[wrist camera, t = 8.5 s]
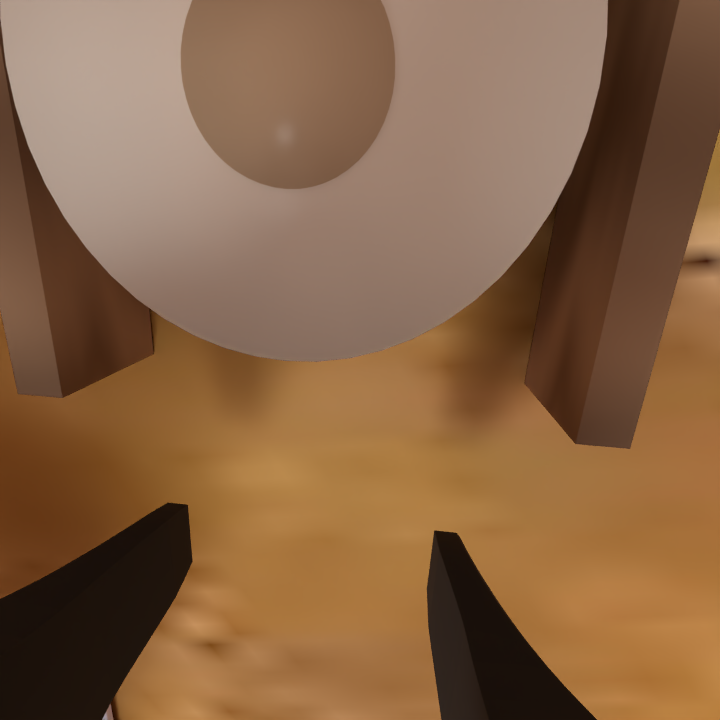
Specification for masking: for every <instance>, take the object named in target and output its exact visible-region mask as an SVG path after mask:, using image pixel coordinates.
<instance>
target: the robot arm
mask: <svg viewBox="0 0 720 720" xmlns="http://www.w3.org/2000/svg"><path fill="white" fill-rule="evenodd" d="M191 563H192V551H191V539H190V526H189V514H188V505H185V504H175V503H167V504H165V505H163V506H161V507H160V508H158V509H156V510H155V511H153V512H151V513H150V514H148V515H147V516H145V517H143V518H142V519H140V520H139V521H137V522H136V523H134V524H133V525H131V526H129V527H128V528H126V529H125V530H123V531H121V532H120V533H118V534H117V535H115V536H113V537H112V538H110V539H109V540H107V541H105V542H104V543H102V544H101V545H99V546H97V547H96V548H94V549H92V550H91V551H89V552H87V553H86V554H84V555H82V556H80V557H79V558H77V559H75V560H73V561H72V562H70V563H68V564H67V565H65V566H63V567H61V568H60V569H58V570H56V571H54V572H53V573H51V574H49V575H47V576H45V577H43V578H41V579H40V580H38V581H36V582H34V583H32V584H30V585H28V586H26V587H24V588H22V589H20V590H18V591H16V592H14V593H12V594H10V595H8V596H6V597H4V598H1V599H0V720H113V715H112V709H111V702H112V700H113V698H114V696H115V695H116V693H117V691H118V689H119V688H120V686H121V684H122V682H123V681H124V679H125V677H126V676H127V674H128V673H129V671H130V669H131V668H132V666H133V665H134V663H135V662H136V660H137V658H138V657H139V655H140V654H141V652H142V650H143V649H144V647H145V646H146V644H147V642H148V641H149V639H150V638H151V636H152V634H153V633H154V631H155V630H156V628H157V627H158V625H159V623H160V622H161V620H162V618H163V617H164V615H165V614H166V612H167V610H168V609H169V607H170V605H171V604H172V602H173V600H174V599H175V597H176V595H177V593H178V591H179V589H180V587H181V585H182V583H183V581H184V579H185V577H186V574H187V572H188V570H189V568H190V566H191ZM427 602H428V626H429V634H430V642H431V649H432V656H433V663H434V670H435V677H436V684H437V691H438V698H439V705H440V712H441V719H442V720H597V719H596V718H595V717H594V716H593V715H592V714H591V713H590V712H589V711H588V710H587V709H586V708H585V707H584V706H583V705H582V704H581V703H580V702H579V701H578V700H577V699H576V697H575V696H574V695H573V694H572V693H571V692H570V691H569V690H568V689H567V688H566V687H565V686H564V685H563V684H562V683H561V681H560V680H559V679H558V678H557V677H556V676H555V675H554V673H553V672H552V671H551V670H550V669H549V668H548V667H547V665H546V664H545V663H544V662H543V661H542V659H541V658H540V657H539V656H538V655H537V653H536V652H535V651H534V650H533V648H532V647H531V646H530V645H529V643H528V642H527V641H526V640H525V638H524V637H523V636H522V634H521V633H520V632H519V630H518V629H517V628H516V626H515V625H514V623H513V622H512V621H511V619H510V618H509V617H508V615H507V614H506V612H505V611H504V609H503V608H502V607H501V605H500V604H499V602H498V601H497V599H496V598H495V596H494V595H493V593H492V591H491V590H490V588H489V587H488V585H487V584H486V582H485V581H484V579H483V577H482V576H481V574H480V573H479V571H478V569H477V567H476V566H475V564H474V562H473V561H472V559H471V557H470V555H469V554H468V552H467V550H466V548H465V546H464V544H463V542H462V540H461V538H460V537H459V535H458V534H457V533H453V532H443V531H434V538H433V546H432V553H431V561H430V569H429V577H428V585H427Z"/></svg>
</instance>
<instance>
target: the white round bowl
mask: <svg viewBox="0 0 720 720" xmlns="http://www.w3.org/2000/svg"><path fill="white" fill-rule="evenodd" d="M607 14H608V0H0V20H1V28H2V37H3V45H4V54H5V62H6V67H7V72H8V76H9V81H10V85H11V90H12V94H13V99H14V103H15V107H16V110H17V113H18V116H19V119H20V122H21V125H22V129H23V132H24V135H25V138H26V141H27V144H28V147H29V149H30V151H31V153H32V156H33V158H34V160H35V162H36V165H37V167H38V169H39V171H40V174H41V176H42V178H43V180H44V183H45V184H46V186H47V188H48V190H49V191H50V193H51V195H52V197H53V198H54V200H55V202H56V204H57V205H58V207H59V209H60V211H61V212H62V214H63V216H64V218H65V219H66V220H67V222H68V223H69V225H70V226H71V227H72V229H73V230H74V232H75V233H76V234H77V236H78V237H79V239H80V240H81V241H82V243H83V244H84V246H85V247H86V248H87V249H88V250H89V252H90V253H91V254H92V255H93V256H94V257H95V258H96V259H97V261H98V262H99V263H100V264H101V265H102V266H103V267H104V268H105V270H106V271H107V272H108V273H109V274H110V275H111V276H112V277H113V278H114V279H115V280H116V281H117V282H119V283H120V284H121V285H122V286H123V287H124V288H125V289H126V290H127V291H128V292H130V293H131V294H132V295H133V296H134V297H135V298H136V299H138V300H139V301H140V302H142V303H143V304H144V305H146V306H147V307H149V308H150V309H151V310H153V311H154V312H156V313H157V314H158V315H160V316H161V317H162V318H164V319H166V320H167V321H169V322H171V323H173V324H174V325H176V326H178V327H180V328H182V329H183V330H185V331H187V332H189V333H190V334H192V335H194V336H197V337H199V338H202V339H204V340H206V341H209V342H211V343H214V344H216V345H218V346H221V347H223V348H227V349H230V350H234V351H238V352H241V353H245V354H248V355H252V356H257V357H263V358H270V359H277V360H283V361H315V362H318V361H328V360H337V359H347V358H353V357H357V356H361V355H365V354H369V353H374V352H378V351H382V350H385V349H387V348H390V347H392V346H395V345H398V344H400V343H403V342H406V341H408V340H411V339H414V338H415V337H417V336H419V335H421V334H423V333H425V332H427V331H429V330H431V329H432V328H434V327H436V326H438V325H440V324H442V323H444V322H445V321H447V320H448V319H449V318H451V317H452V316H454V315H455V314H457V313H458V312H459V311H461V310H462V309H464V308H465V307H467V306H468V305H469V304H471V303H472V302H474V301H475V300H476V299H477V298H478V297H479V296H480V295H481V294H482V293H484V292H485V291H486V290H487V289H488V288H489V287H490V286H491V285H492V284H494V283H495V282H496V281H497V280H498V279H499V278H500V277H501V276H502V275H503V274H504V273H505V272H506V271H507V269H508V268H509V267H510V266H511V265H512V264H513V263H514V261H515V260H516V259H517V258H518V257H519V256H520V255H521V253H522V252H523V251H524V250H525V249H526V248H527V246H528V245H529V244H530V242H531V241H532V239H533V238H534V236H535V235H536V233H537V232H538V230H539V229H540V227H541V226H542V224H543V223H544V222H545V220H546V219H547V217H548V216H549V214H550V213H551V211H552V209H553V207H554V205H555V203H556V201H557V200H558V198H559V196H560V194H561V192H562V190H563V188H564V186H565V184H566V182H567V181H568V179H569V177H570V175H571V173H572V170H573V168H574V165H575V162H576V160H577V157H578V155H579V152H580V149H581V147H582V144H583V142H584V139H585V137H586V134H587V131H588V128H589V124H590V120H591V116H592V113H593V109H594V105H595V101H596V97H597V93H598V90H599V86H600V80H601V73H602V66H603V59H604V52H605V45H606V38H607Z"/></svg>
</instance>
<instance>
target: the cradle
mask: <svg viewBox="0 0 720 720" xmlns="http://www.w3.org/2000/svg"><path fill="white" fill-rule="evenodd" d="M719 129H720V0H608V14H607V38H606V45H605V52H604V59H603V66H602V73H601V80H600V86H599V90H598V93H597V97H596V101H595V105H594V109H593V113H592V116H591V120H590V124H589V128H588V131H587V134H586V137H585V139H584V142H583V144H582V147H581V149H580V152H579V155H578V157H577V160H576V162H575V165H574V168H573V170H572V173H571V175H570V177H569V179H568V181H567V182H566V184H565V186H564V188H563V190H562V192H561V194H560V196H559V200H558V205H557V211H556V216H555V221H554V227H553V232H552V238H551V243H550V249H549V254H548V259H547V265H546V270H545V276H544V281H543V287H542V292H541V297H540V303H539V308H538V314H537V319H536V324H535V330H534V335H533V341H532V346H531V352H530V357H529V362H528V368H527V373H526V379H525V385H526V386H527V387H528V388H529V389H530V391H531V392H532V393H533V394H534V395H535V396H536V398H537V399H538V400H539V401H540V402H541V404H542V405H543V406H544V407H545V408H546V410H547V411H548V412H549V413H550V414H551V415H552V417H553V418H554V419H555V420H556V421H557V423H558V424H559V425H560V426H561V427H562V428H563V430H564V431H565V432H566V433H567V434H568V436H569V437H570V438H571V439H572V440H573V442H574V443H575V444H582V445H593V446H605V447H616V448H627V449H630V447H631V443H632V440H633V436H634V433H635V429H636V425H637V422H638V418H639V415H640V411H641V408H642V404H643V401H644V397H645V393H646V390H647V386H648V383H649V379H650V376H651V372H652V368H653V365H654V361H655V358H656V354H657V351H658V347H659V343H660V340H661V336H662V333H663V329H664V326H665V322H666V318H667V315H668V311H669V308H670V304H671V301H672V297H673V293H674V290H675V286H676V283H677V279H678V276H679V272H680V269H681V265H682V261H683V258H684V254H685V251H686V247H687V244H688V240H689V236H690V233H691V229H692V226H693V222H694V219H695V215H696V211H697V208H698V204H699V201H700V197H701V194H702V190H703V186H704V183H705V179H706V176H707V172H708V169H709V165H710V162H711V158H712V154H713V151H714V147H715V144H716V140H717V137H718V133H719ZM0 311H1V316H2V320H3V325H4V330H5V335H6V339H7V344H8V349H9V354H10V358H11V363H12V368H13V373H14V377H15V382H16V387H17V392H18V394H25V395H36V396H47V397H58V398H63V397H65V396H68V395H70V394H72V393H74V392H76V391H78V390H80V389H82V388H84V387H86V386H88V385H90V384H92V383H94V382H96V381H99V380H101V379H103V378H105V377H107V376H109V375H111V374H113V373H115V372H117V371H119V370H121V369H123V368H125V367H128V366H130V365H132V364H134V363H136V362H138V361H140V360H142V359H144V358H146V357H148V356H150V355H152V354H154V352H153V343H152V333H151V323H150V313H149V307H147V306H146V305H144V304H143V303H142V302H140V301H139V300H138V299H136V298H135V297H134V296H133V295H132V294H131V293H130V292H128V291H127V290H126V289H125V288H124V287H123V286H122V285H121V284H120V283H119V282H117V281H116V280H115V279H114V278H113V277H112V276H111V275H110V274H109V273H108V272H107V271H106V270H105V268H104V267H103V266H102V265H101V264H100V263H99V262H98V261H97V259H96V258H95V257H94V256H93V255H92V254H91V253H90V252H89V250H88V249H87V248H86V247H85V246H84V244H83V243H82V241H81V240H80V239H79V237H78V236H77V234H76V233H75V232H74V230H73V229H72V227H71V226H70V225H69V223H68V222H67V220H66V219H65V218H64V216H63V214H62V212H61V211H60V209H59V207H58V205H57V204H56V202H55V200H54V198H53V197H52V195H51V193H50V191H49V190H48V188H47V186H46V184H45V183H44V180H43V178H42V176H41V174H40V171H39V169H38V167H37V165H36V162H35V160H34V158H33V156H32V153H31V151H30V149H29V147H28V144H27V141H26V138H25V135H24V132H23V129H22V125H21V122H20V119H19V116H18V113H17V110H16V107H15V103H14V99H13V94H12V90H11V85H10V81H9V76H8V72H7V67H6V62H5V54H4V45H3V37H2V28H1V20H0Z"/></svg>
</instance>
